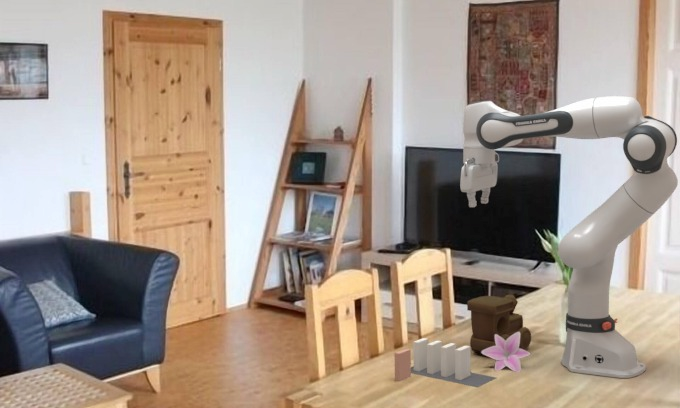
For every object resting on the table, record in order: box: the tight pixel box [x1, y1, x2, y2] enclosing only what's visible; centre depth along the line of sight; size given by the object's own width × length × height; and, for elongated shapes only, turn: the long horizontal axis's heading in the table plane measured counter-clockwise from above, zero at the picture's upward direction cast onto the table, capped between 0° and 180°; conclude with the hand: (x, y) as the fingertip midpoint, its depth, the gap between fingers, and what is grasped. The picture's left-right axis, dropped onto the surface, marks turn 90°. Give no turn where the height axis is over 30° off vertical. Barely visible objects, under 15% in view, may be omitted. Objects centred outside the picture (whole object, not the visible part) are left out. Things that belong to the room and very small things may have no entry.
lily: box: [480, 332, 531, 373], centre depth 255 cm, size 12×12×10 cm
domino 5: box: [455, 345, 472, 380], centre depth 246 cm, size 2×5×8 cm, turn 140°
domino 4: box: [441, 342, 457, 377], centre depth 249 cm, size 2×5×8 cm, turn 140°
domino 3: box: [427, 339, 443, 374], centre depth 252 cm, size 2×5×8 cm, turn 140°
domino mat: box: [411, 365, 497, 388], centre depth 249 cm, size 24×10×1 cm, turn 50°
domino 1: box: [394, 348, 412, 382], centre depth 246 cm, size 2×5×8 cm, turn 140°
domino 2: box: [412, 337, 430, 371], centre depth 255 cm, size 2×5×8 cm, turn 140°
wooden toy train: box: [466, 294, 532, 354], centre depth 271 cm, size 20×11×17 cm, turn 138°
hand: (478, 205), depth 268 cm, fingers open, 8 cm apart
